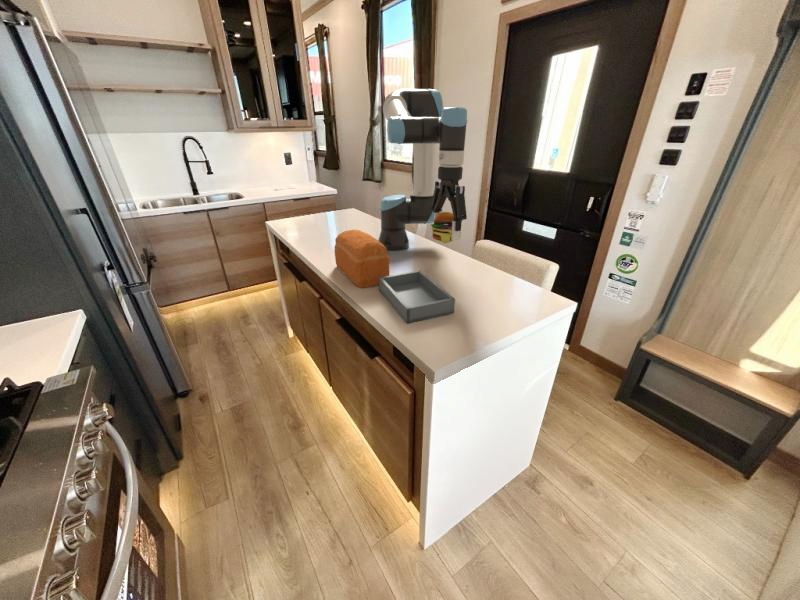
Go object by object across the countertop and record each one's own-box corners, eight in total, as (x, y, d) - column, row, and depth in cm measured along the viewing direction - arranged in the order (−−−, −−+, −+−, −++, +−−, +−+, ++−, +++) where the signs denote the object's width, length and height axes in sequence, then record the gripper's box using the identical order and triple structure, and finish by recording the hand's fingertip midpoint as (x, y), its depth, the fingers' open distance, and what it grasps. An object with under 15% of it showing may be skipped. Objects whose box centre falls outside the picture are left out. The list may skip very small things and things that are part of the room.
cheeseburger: (429, 242, 104) (430, 211, 102) (431, 241, 115) (433, 212, 112) (460, 244, 103) (462, 211, 100) (460, 242, 113) (462, 213, 111)
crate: (379, 290, 113) (378, 277, 111) (419, 282, 118) (420, 270, 116) (406, 323, 93) (406, 309, 91) (453, 313, 99) (455, 298, 97)
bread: (358, 290, 113) (355, 247, 106) (334, 266, 133) (330, 228, 126) (392, 282, 119) (392, 241, 112) (364, 260, 139) (362, 224, 132)
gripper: (422, 163, 106) (420, 228, 117) (461, 169, 88) (455, 246, 98) (441, 162, 109) (438, 226, 119) (484, 168, 90) (475, 243, 100)
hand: (445, 235), depth 109 cm, fingers closed on cheeseburger, 11 cm apart
